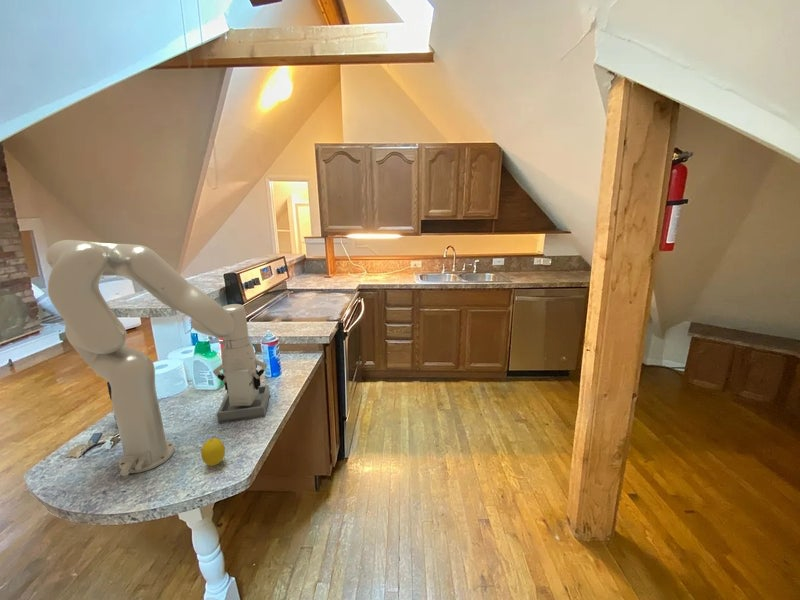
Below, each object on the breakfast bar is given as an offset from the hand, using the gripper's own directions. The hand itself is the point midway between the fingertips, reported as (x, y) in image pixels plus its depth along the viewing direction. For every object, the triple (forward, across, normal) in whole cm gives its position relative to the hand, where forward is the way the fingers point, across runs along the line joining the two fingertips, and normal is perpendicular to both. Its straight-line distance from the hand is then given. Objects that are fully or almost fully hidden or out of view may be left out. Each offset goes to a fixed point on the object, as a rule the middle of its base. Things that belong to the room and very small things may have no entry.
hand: (243, 389), depth 122 cm
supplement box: (+4, 0, 0) cm, 4 cm away
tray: (+7, 0, 0) cm, 7 cm away
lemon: (+7, -3, -29) cm, 30 cm away
